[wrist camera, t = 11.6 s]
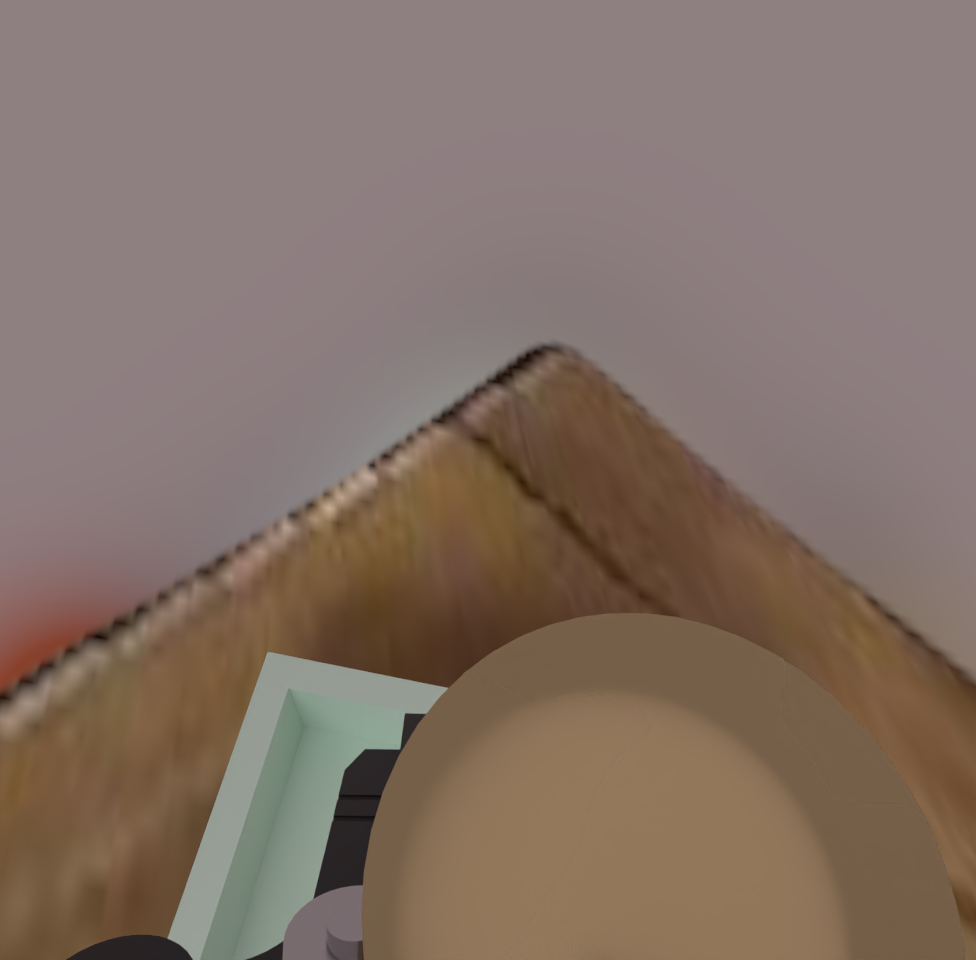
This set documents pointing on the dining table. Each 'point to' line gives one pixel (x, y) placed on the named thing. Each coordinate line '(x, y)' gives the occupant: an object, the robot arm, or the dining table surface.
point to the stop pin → (649, 812)
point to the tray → (284, 799)
